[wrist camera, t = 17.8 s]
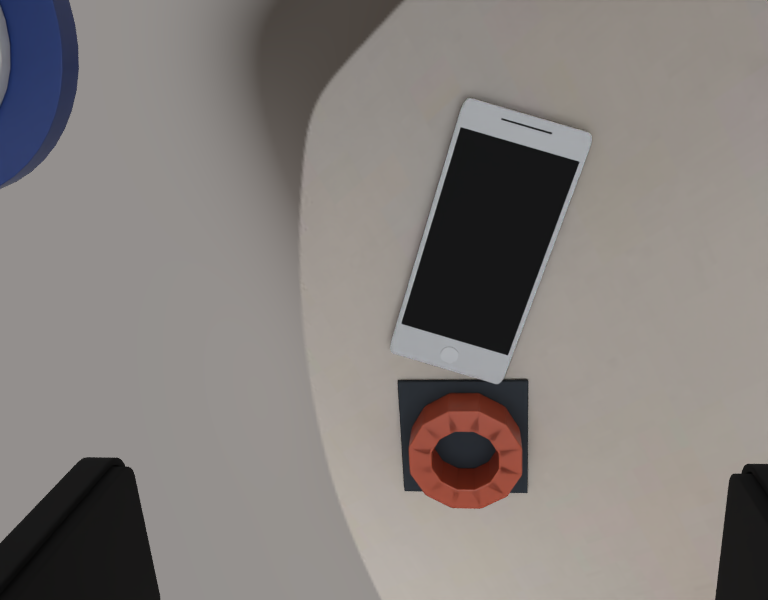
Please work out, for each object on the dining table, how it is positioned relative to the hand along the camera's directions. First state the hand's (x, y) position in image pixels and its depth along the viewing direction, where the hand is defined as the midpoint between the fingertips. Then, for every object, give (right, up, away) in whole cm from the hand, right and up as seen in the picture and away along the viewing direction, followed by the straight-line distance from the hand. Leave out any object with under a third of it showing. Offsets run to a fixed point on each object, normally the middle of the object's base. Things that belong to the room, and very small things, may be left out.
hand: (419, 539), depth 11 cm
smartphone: (+5, +7, +29) cm, 31 cm away
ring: (+5, -5, +33) cm, 34 cm away
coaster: (+5, -5, +34) cm, 34 cm away
